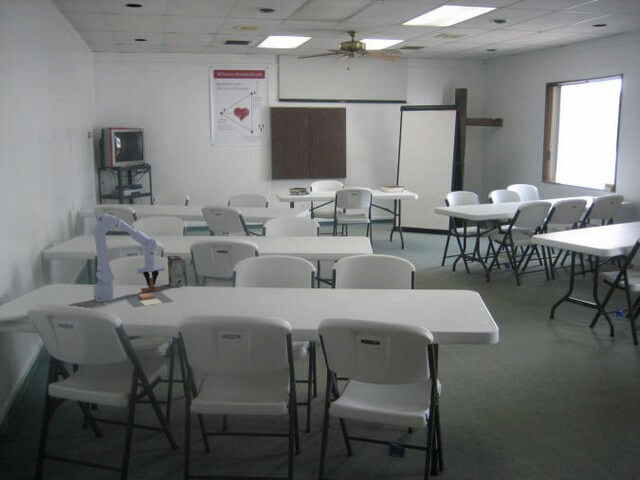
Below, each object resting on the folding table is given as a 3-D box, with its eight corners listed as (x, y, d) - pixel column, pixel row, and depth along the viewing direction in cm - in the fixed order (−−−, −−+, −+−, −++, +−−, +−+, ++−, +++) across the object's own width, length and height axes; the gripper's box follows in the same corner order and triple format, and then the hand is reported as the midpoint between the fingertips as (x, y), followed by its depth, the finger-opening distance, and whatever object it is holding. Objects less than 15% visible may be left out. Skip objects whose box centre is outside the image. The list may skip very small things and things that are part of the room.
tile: (142, 299, 315) (141, 297, 314) (138, 297, 320) (138, 294, 319) (153, 298, 318) (153, 295, 317) (150, 295, 323) (150, 292, 322)
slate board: (134, 308, 302) (133, 307, 302) (122, 297, 320) (122, 296, 320) (173, 302, 312) (173, 301, 312) (160, 292, 331) (160, 291, 330)
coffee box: (168, 284, 349) (167, 256, 346) (179, 282, 351) (178, 255, 348) (171, 287, 340) (170, 259, 338) (183, 286, 343) (182, 258, 340)
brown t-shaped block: (142, 292, 327) (142, 280, 326) (141, 291, 329) (140, 279, 328) (161, 290, 332) (160, 277, 331) (159, 289, 334) (159, 276, 333)
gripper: (161, 257, 335) (162, 281, 337) (134, 260, 327) (135, 285, 330) (165, 260, 329) (166, 284, 331) (138, 262, 322) (139, 288, 324)
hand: (151, 285), depth 330 cm, fingers closed on brown t-shaped block, 2 cm apart
